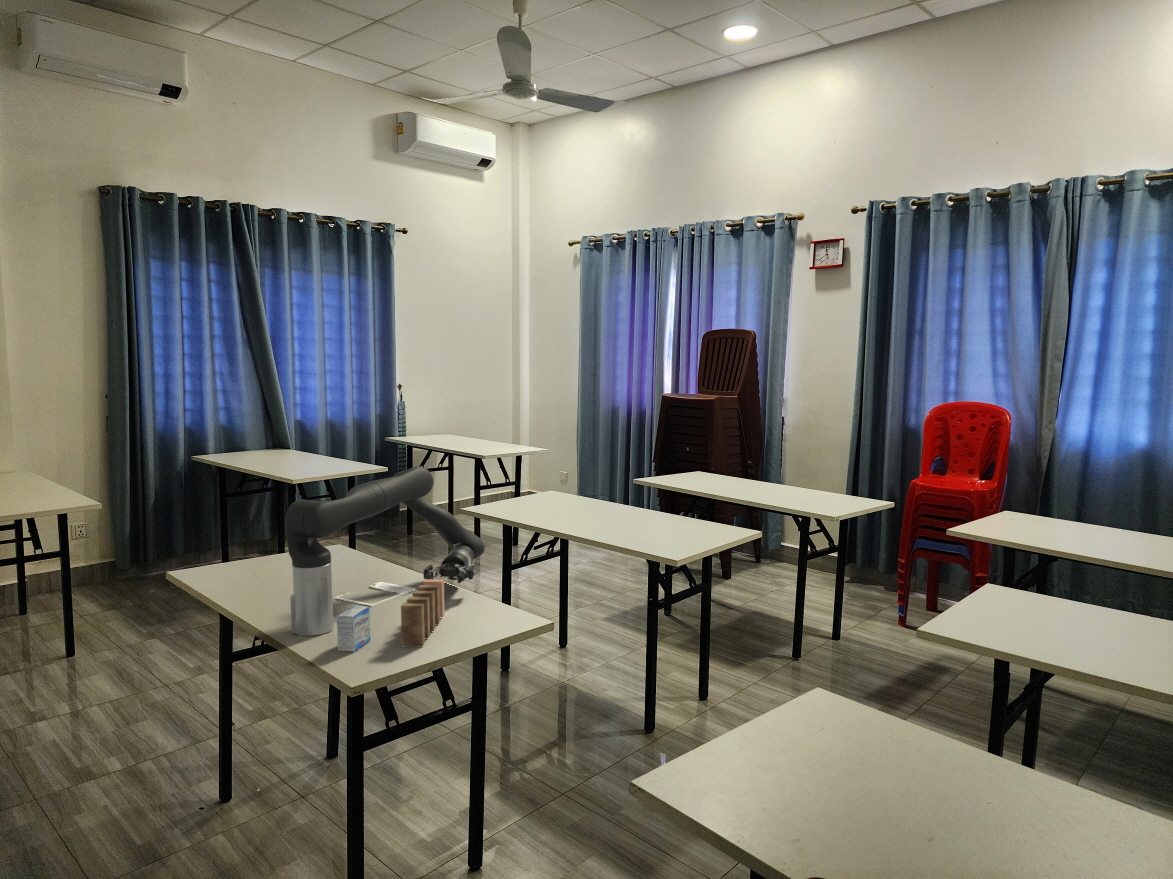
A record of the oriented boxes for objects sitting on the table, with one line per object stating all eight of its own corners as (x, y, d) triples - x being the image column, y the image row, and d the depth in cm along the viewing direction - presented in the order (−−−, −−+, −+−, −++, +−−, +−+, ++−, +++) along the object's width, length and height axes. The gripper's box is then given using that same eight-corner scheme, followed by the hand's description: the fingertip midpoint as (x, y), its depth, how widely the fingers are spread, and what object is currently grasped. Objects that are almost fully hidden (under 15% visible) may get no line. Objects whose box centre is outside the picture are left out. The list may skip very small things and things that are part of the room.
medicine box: (354, 652, 174) (353, 616, 173) (337, 651, 175) (336, 615, 174) (371, 640, 182) (370, 606, 181) (354, 639, 183) (353, 605, 182)
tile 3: (413, 631, 188) (412, 593, 187) (415, 629, 190) (414, 590, 189) (433, 632, 188) (432, 593, 187) (435, 629, 190) (434, 591, 189)
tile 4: (408, 639, 183) (407, 599, 182) (410, 636, 185) (409, 596, 184) (428, 639, 183) (427, 599, 182) (430, 636, 185) (429, 597, 184)
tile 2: (419, 624, 193) (418, 587, 192) (421, 622, 195) (420, 584, 194) (438, 625, 193) (437, 587, 192) (440, 622, 194) (439, 585, 194)
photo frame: (416, 587, 223) (371, 604, 207) (416, 591, 223) (372, 608, 207) (380, 580, 230) (334, 596, 214) (380, 584, 230) (334, 600, 214)
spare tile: (424, 618, 198) (423, 581, 197) (426, 615, 200) (425, 579, 199) (442, 618, 198) (441, 581, 197) (444, 616, 200) (443, 579, 199)
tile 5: (402, 646, 178) (400, 605, 177) (404, 643, 180) (403, 603, 179) (422, 647, 178) (421, 606, 177) (424, 643, 180) (423, 603, 179)
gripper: (433, 551, 225) (418, 566, 209) (479, 552, 224) (468, 566, 208) (433, 575, 226) (419, 592, 209) (480, 576, 225) (469, 592, 209)
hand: (443, 579), depth 209 cm, fingers open, 8 cm apart
